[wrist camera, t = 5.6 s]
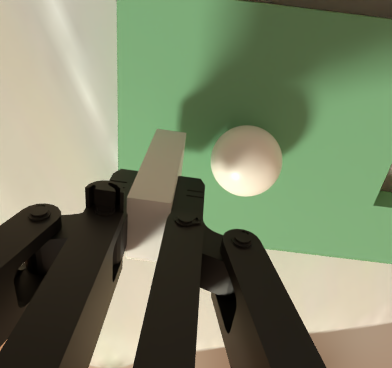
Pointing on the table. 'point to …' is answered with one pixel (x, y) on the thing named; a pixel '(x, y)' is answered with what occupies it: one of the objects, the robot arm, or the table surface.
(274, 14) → the green
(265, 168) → the ball
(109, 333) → the table surface
